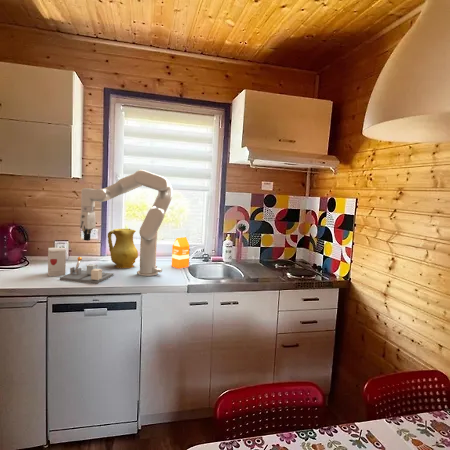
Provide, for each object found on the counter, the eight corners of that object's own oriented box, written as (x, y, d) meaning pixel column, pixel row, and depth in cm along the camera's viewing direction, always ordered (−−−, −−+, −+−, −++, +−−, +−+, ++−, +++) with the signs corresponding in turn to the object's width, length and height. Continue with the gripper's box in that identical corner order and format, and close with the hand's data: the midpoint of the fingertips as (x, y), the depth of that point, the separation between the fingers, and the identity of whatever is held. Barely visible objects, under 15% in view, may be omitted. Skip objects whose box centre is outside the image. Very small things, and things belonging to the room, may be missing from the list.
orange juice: (171, 266, 233) (172, 237, 231) (181, 264, 239) (182, 236, 237) (179, 268, 228) (180, 238, 226) (188, 266, 234) (190, 237, 232)
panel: (113, 275, 201) (113, 267, 200) (97, 284, 183) (97, 274, 182) (79, 272, 204) (79, 264, 204) (60, 280, 186) (60, 271, 186)
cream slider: (101, 278, 188) (101, 269, 188) (97, 280, 184) (98, 270, 184) (95, 277, 189) (95, 268, 188) (91, 279, 185) (91, 270, 184)
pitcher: (121, 270, 213) (122, 230, 212) (103, 266, 224) (104, 228, 223) (143, 267, 227) (144, 229, 226) (125, 263, 238) (126, 227, 237)
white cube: (96, 273, 198) (96, 264, 197) (92, 274, 194) (93, 266, 193) (90, 272, 198) (90, 264, 198) (86, 274, 195) (86, 265, 194)
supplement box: (47, 276, 192) (48, 250, 190) (47, 272, 199) (47, 247, 198) (65, 275, 196) (66, 249, 194) (65, 271, 204) (65, 247, 202)
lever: (78, 273, 195) (83, 257, 199) (76, 272, 193) (81, 256, 197) (74, 272, 195) (79, 257, 199) (72, 271, 193) (77, 255, 197)
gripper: (86, 210, 193) (86, 242, 195) (100, 209, 208) (99, 239, 210) (74, 209, 194) (73, 241, 196) (88, 208, 209) (87, 238, 211)
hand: (87, 240), depth 203 cm, fingers closed
